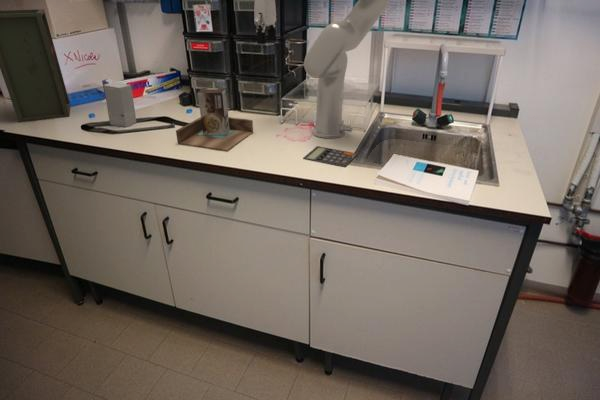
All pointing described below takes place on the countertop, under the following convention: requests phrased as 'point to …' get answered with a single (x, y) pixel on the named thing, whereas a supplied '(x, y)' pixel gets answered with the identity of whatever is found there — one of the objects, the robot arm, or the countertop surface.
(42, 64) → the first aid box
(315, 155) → the calculator
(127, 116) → the skincare box
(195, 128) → the tray
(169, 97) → the countertop surface
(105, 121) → the countertop surface
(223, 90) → the coffee box
